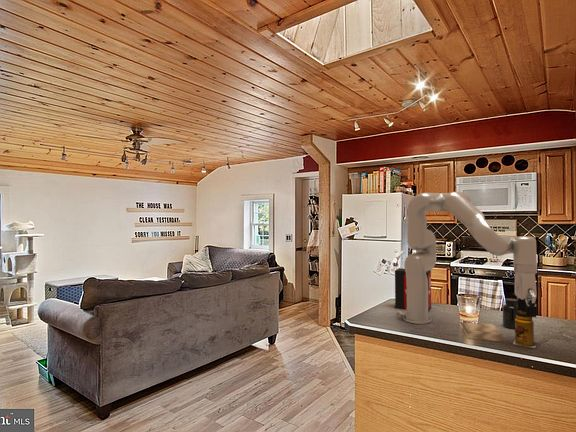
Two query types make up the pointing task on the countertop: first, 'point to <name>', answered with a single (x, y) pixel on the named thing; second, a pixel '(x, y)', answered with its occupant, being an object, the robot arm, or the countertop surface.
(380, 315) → the countertop surface
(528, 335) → the condiment
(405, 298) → the cleaning product box
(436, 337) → the countertop surface
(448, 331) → the countertop surface
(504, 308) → the supplement bottle
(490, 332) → the base slab
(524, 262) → the robot arm
